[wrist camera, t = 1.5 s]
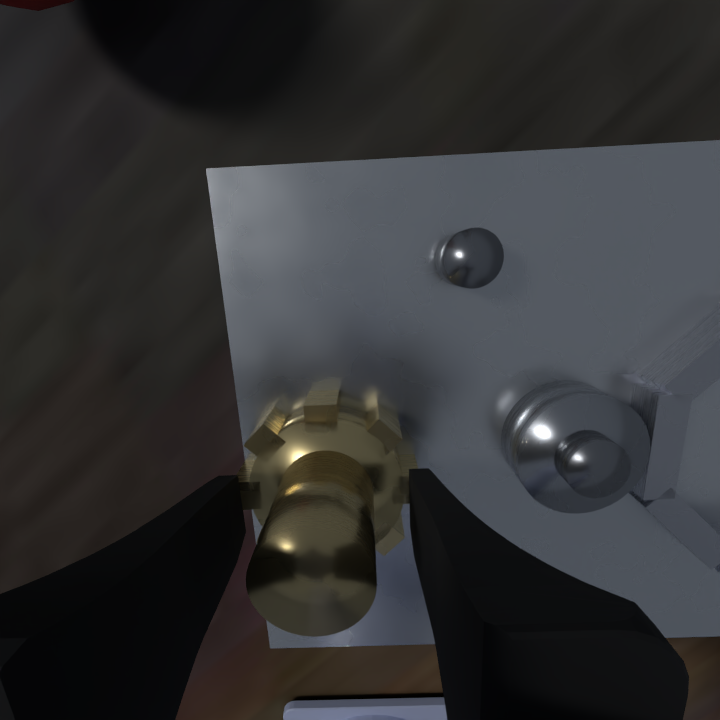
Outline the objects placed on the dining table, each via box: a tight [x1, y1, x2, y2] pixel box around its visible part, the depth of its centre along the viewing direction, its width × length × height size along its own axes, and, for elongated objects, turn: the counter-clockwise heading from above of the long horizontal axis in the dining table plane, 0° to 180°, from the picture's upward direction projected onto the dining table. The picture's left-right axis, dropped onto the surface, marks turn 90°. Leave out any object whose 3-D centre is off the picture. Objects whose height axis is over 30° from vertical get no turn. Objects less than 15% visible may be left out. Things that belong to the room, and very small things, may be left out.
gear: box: [237, 390, 418, 637], centre depth 11 cm, size 6×6×5 cm
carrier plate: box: [206, 140, 720, 648], centre depth 13 cm, size 18×23×3 cm
